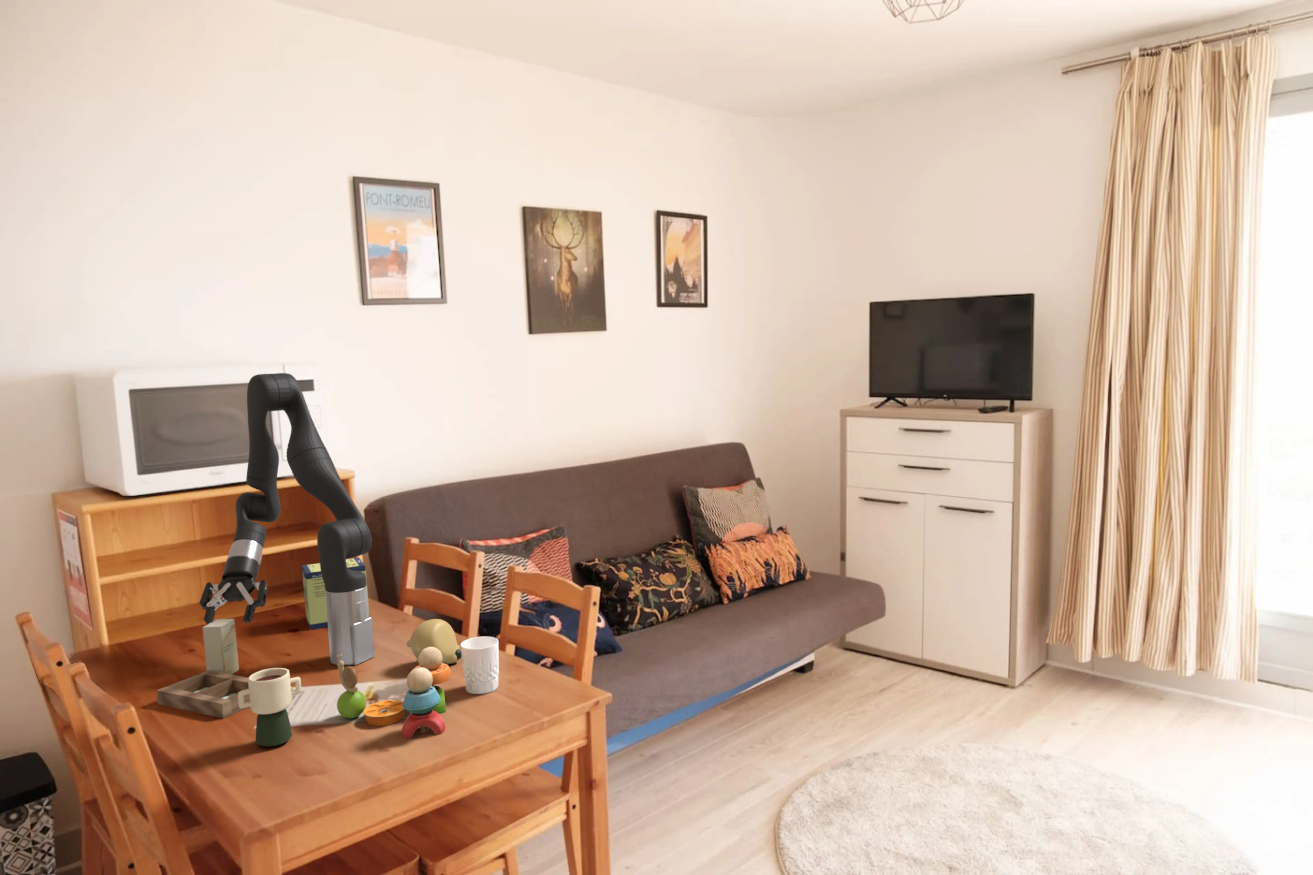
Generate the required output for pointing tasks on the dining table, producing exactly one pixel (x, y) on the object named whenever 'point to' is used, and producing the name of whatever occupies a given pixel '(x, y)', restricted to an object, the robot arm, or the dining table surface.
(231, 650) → the skincare box
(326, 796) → the dining table surface
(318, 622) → the protein box
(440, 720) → the wooden stacking toy
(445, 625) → the beige animal figurine
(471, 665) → the white cup
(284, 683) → the character mug
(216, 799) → the dining table surface
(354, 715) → the snail figurine
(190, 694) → the wooden compartment tray
